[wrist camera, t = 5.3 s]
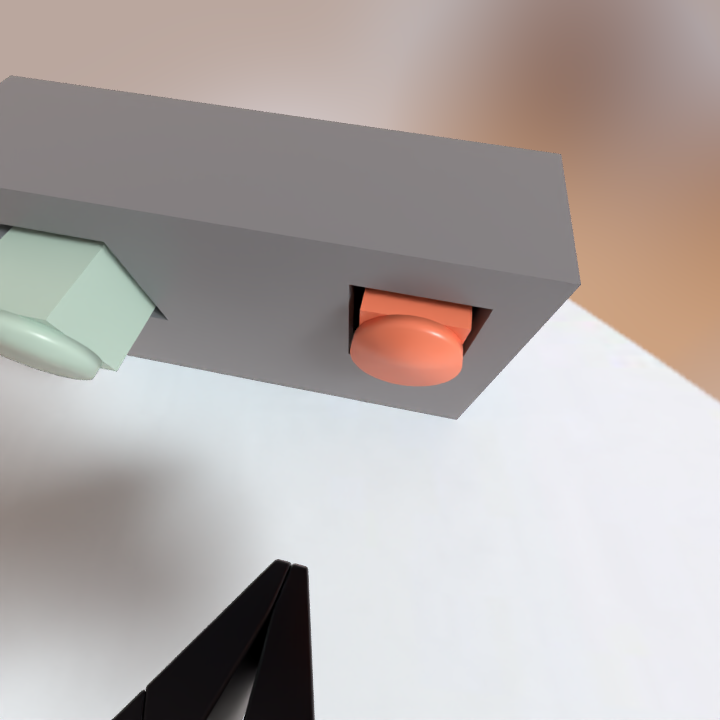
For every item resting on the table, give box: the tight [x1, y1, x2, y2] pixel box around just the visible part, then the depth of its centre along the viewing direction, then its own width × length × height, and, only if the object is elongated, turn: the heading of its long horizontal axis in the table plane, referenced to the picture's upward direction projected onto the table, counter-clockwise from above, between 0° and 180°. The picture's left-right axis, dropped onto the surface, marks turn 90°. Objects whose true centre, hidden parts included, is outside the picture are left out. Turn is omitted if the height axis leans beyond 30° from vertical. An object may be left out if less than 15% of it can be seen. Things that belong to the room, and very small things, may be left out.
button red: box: [350, 288, 472, 386], centre depth 13 cm, size 5×4×4 cm
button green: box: [0, 226, 156, 380], centre depth 13 cm, size 5×4×4 cm
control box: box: [0, 76, 581, 420], centre depth 16 cm, size 6×21×12 cm, turn 79°
